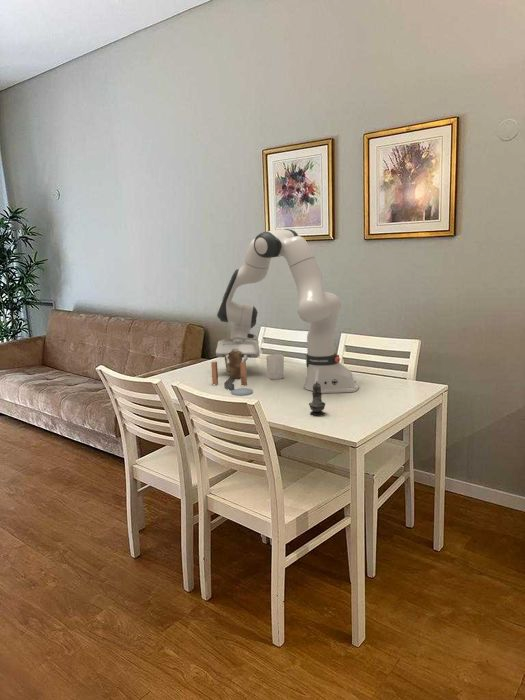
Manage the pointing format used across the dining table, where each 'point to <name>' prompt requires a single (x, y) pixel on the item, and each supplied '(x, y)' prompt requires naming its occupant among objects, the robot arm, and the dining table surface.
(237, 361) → the block
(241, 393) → the pad
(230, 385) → the wire course
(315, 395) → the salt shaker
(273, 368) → the white cup
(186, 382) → the dining table surface
